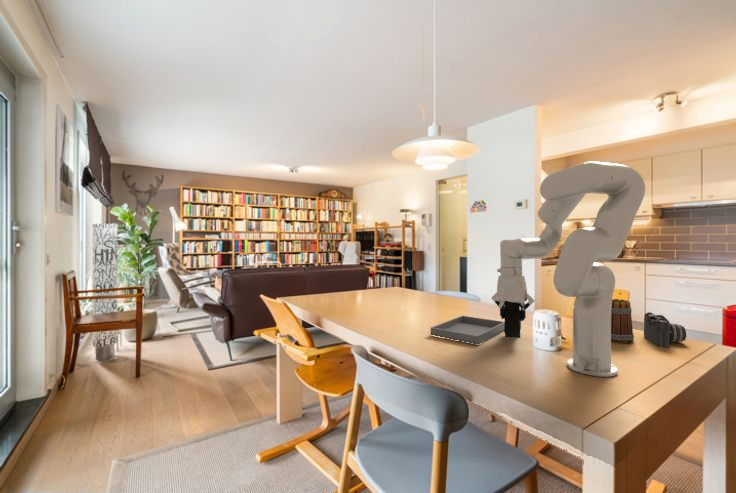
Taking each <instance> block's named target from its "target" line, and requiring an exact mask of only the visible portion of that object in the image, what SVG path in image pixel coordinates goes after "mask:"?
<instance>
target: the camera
mask: <svg viewBox="0 0 736 493" xmlns="http://www.w3.org/2000/svg"><path fill="white" fill-rule="evenodd" d="M643 318H644V319H643V320H644V321H643V337H644V338H646V340H648V341H649V342H651V343H652V344H654V345H655V346H656V347H661V348H669V347H670V343H682V342H685V341H686V340H687V331H686V330H687V329H686V328H685V327H684V325H681V324H678V323H672V322H670V321H669V320H668V319H667V318H666V316H664V315H662V314H655V313H653V312H650V311H648V312H645V313H644V317H643Z"/></svg>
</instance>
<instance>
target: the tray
mask: <svg viewBox="0 0 736 493" xmlns="http://www.w3.org/2000/svg"><path fill="white" fill-rule="evenodd" d="M504 323H505V321H501V320H494V319H486V318H480V317H474V316H468V315H460V316H458V317H455V318H452V319H450V320H446V321H445V322H442V323H439V324H436V325H433V326H432V327H430V336H431V335H435V336H440V337H445V338H449V339H453V340H459V341H464V342H469V343H473V344H480V343H482V342H484V341H486V340H488V339H490V338H491V339H493V338H495V337H496V335H497V336H499V335H500V334H502V333H504V332H503V331H504ZM501 332H502V333H501ZM494 336H495V337H494ZM492 337H493V338H492ZM491 339H490V340H491ZM488 341H489V340H488ZM486 342H487V341H486ZM484 343H485V342H484Z"/></svg>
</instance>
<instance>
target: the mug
mask: <svg viewBox="0 0 736 493" xmlns="http://www.w3.org/2000/svg"><path fill="white" fill-rule="evenodd" d="M632 312H633V311H632V307H631V302H630V301H629V300H625V299H618V298H612V306H611V343H616V344H617V343H618V344H632V343H633V342H634V339H635V336H634V331H633V321H632Z"/></svg>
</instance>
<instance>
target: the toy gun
mask: <svg viewBox="0 0 736 493" xmlns="http://www.w3.org/2000/svg"><path fill="white" fill-rule="evenodd" d="M504 309H505V318H504V322H505V323H504V332H503V333H504V337H505V338H514V339H521V330H522V321H520V310H521V308H520V306H519V303H513V302H508V301H505V306H504Z"/></svg>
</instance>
